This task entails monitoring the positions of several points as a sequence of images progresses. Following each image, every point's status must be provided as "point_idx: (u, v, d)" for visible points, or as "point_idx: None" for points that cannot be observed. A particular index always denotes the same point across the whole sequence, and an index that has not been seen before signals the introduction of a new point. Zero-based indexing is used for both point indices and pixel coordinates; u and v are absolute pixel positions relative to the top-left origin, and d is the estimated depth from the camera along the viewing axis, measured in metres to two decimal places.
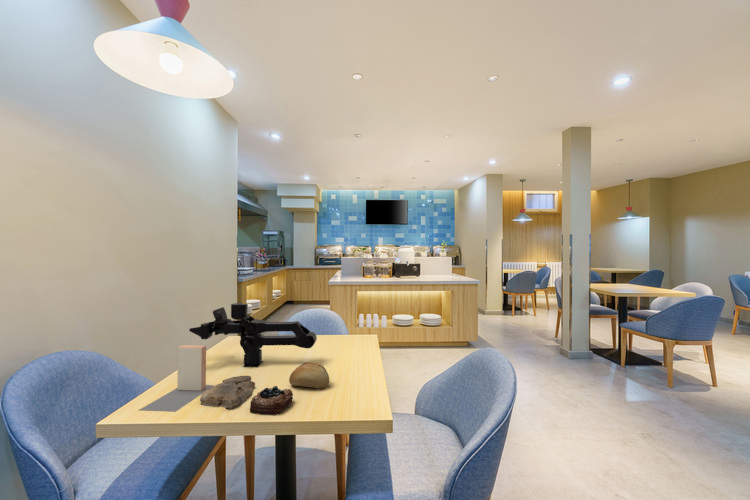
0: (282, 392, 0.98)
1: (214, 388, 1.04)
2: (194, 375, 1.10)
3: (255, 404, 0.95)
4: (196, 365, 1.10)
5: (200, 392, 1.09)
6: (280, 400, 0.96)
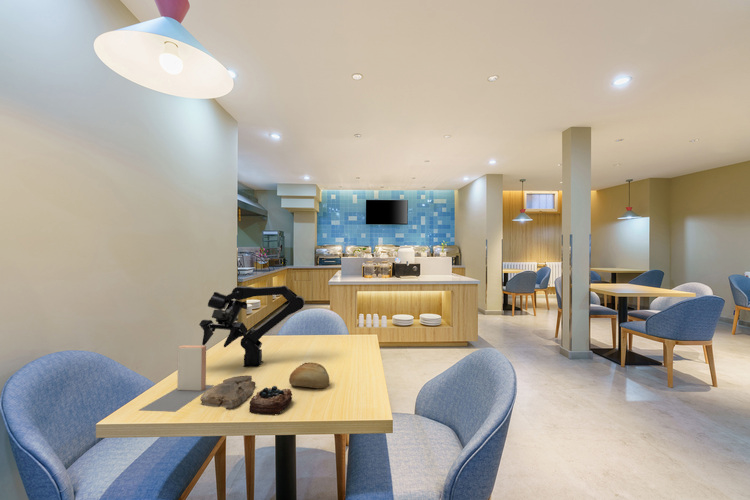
0: (281, 392, 0.98)
1: (215, 388, 1.04)
2: (194, 375, 1.10)
3: (254, 404, 0.95)
4: (196, 365, 1.10)
5: (200, 392, 1.09)
6: (279, 400, 0.96)
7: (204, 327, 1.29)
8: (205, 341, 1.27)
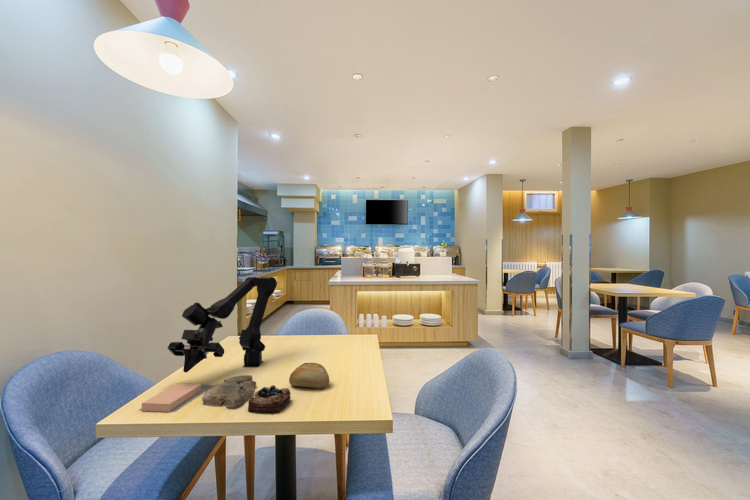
0: (280, 391, 0.99)
1: (216, 388, 1.04)
2: None
3: (253, 403, 0.96)
4: None
5: (200, 392, 1.09)
6: (278, 399, 0.96)
7: (185, 351, 1.11)
8: None
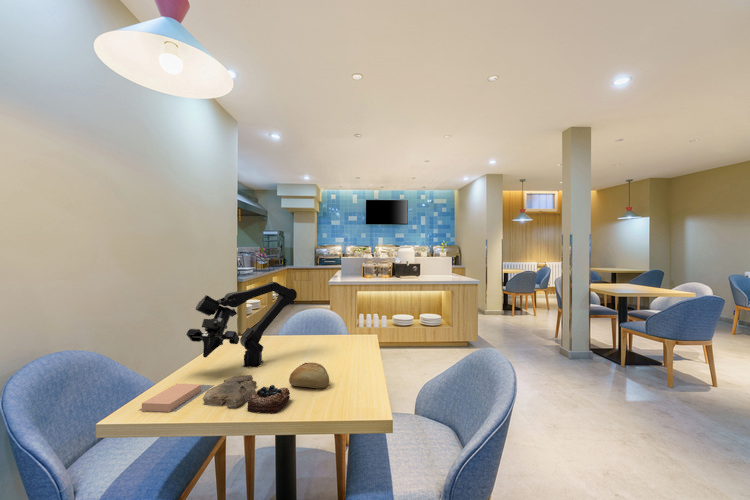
0: (279, 391, 0.99)
1: (217, 388, 1.04)
2: None
3: (252, 403, 0.96)
4: None
5: (200, 392, 1.09)
6: (277, 399, 0.97)
7: (204, 338, 1.21)
8: None
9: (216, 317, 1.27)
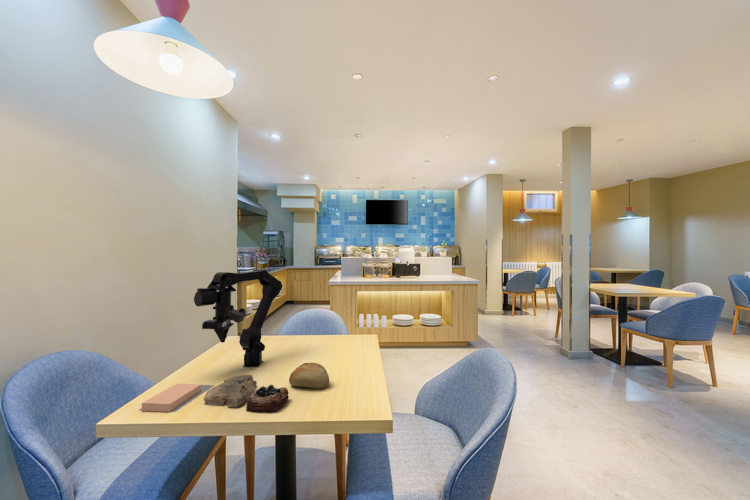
0: (278, 390, 1.00)
1: (217, 388, 1.04)
2: None
3: (251, 403, 0.96)
4: None
5: (200, 392, 1.09)
6: (277, 398, 0.97)
7: (226, 327, 1.25)
8: None
9: (228, 304, 1.27)
